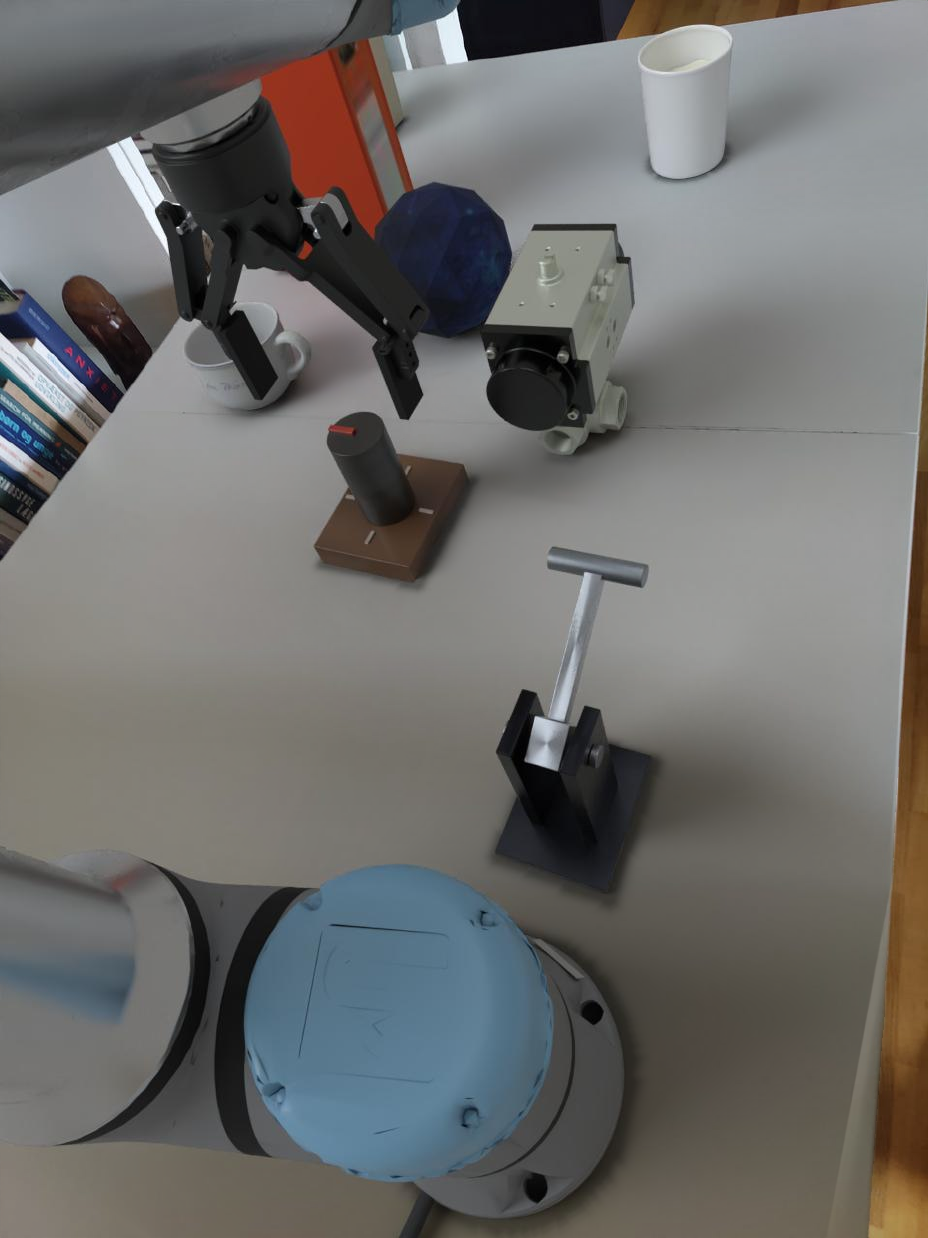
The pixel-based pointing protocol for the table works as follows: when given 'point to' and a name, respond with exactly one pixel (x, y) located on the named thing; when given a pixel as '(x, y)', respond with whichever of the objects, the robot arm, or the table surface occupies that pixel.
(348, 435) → the dial knob
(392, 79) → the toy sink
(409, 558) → the dial panel
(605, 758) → the tap bracket
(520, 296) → the ball valve
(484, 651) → the table surface
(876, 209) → the table surface
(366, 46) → the file binder
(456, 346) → the table surface
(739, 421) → the table surface
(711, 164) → the candle holder
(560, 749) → the tap lever
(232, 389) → the teacup
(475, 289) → the decorative orb
